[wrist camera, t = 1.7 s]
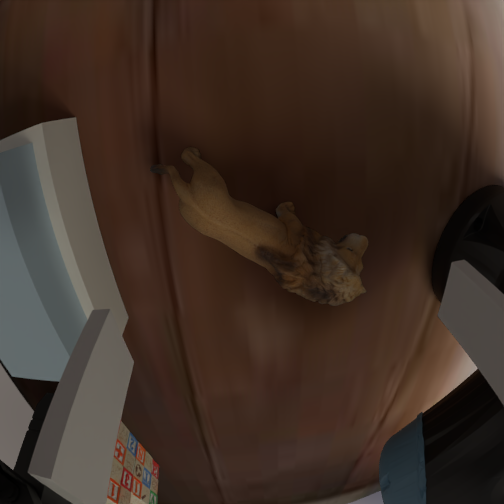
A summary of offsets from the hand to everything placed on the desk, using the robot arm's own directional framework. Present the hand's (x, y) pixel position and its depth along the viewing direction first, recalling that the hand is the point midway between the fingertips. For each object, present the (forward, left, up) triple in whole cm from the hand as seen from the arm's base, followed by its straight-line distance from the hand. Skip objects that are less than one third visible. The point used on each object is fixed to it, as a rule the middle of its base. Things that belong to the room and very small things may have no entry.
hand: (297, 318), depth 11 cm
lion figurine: (0, 0, -14) cm, 14 cm away
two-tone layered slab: (+18, 0, -14) cm, 22 cm away
